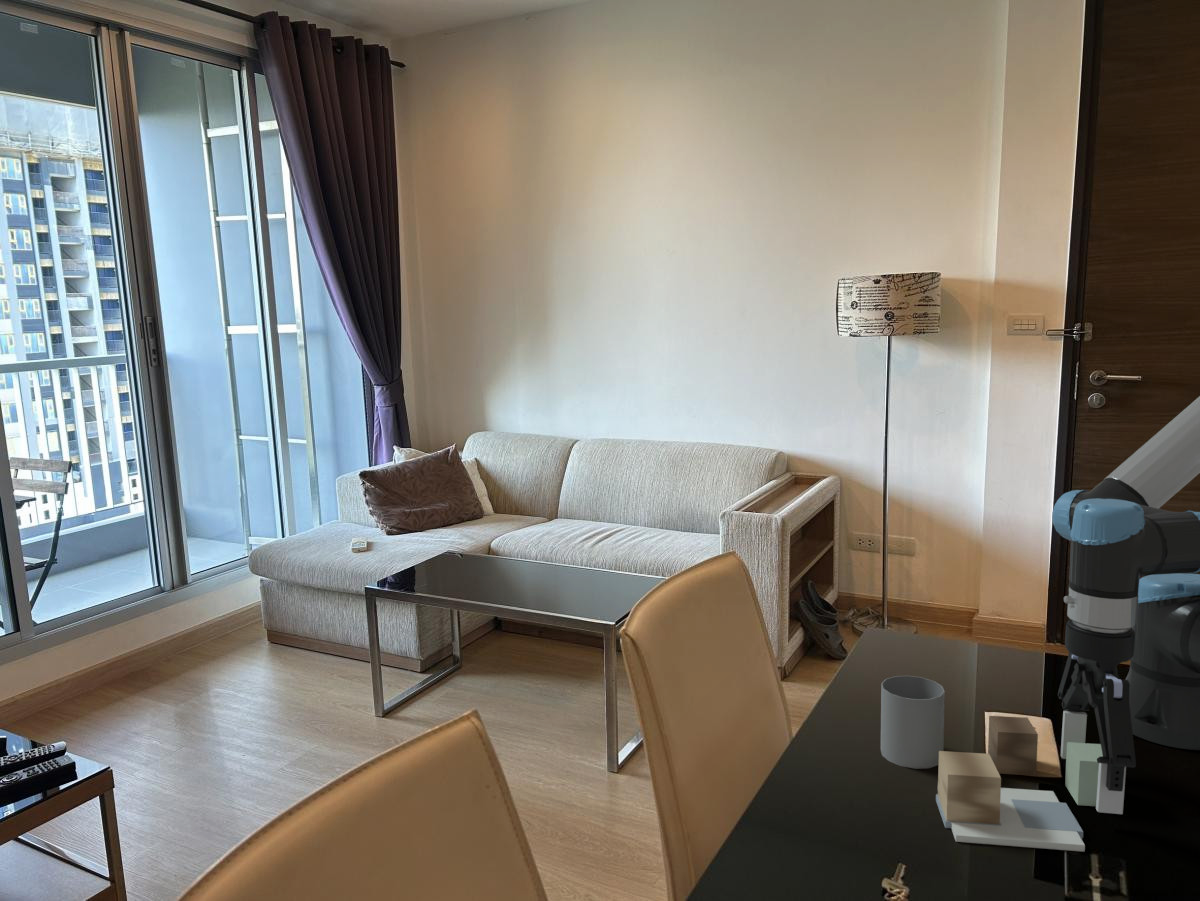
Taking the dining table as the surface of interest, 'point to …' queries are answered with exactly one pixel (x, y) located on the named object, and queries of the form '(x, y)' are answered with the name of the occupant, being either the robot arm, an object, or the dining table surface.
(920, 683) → the cup
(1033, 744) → the walnut block
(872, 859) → the dining table surface
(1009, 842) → the board
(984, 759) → the oak base
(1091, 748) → the sage block
